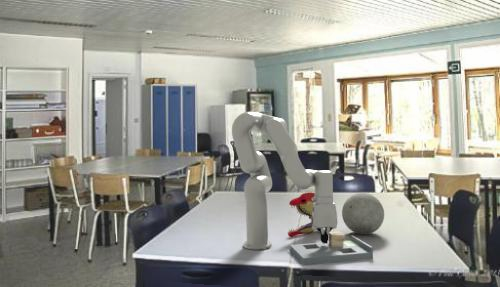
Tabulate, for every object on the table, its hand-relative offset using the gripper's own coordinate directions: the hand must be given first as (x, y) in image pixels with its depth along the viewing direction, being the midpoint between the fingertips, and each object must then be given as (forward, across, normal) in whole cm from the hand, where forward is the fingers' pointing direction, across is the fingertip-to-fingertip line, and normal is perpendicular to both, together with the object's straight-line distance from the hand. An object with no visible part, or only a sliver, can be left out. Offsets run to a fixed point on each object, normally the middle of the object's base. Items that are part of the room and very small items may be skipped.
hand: (324, 242), depth 177 cm
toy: (+4, +3, +30) cm, 30 cm away
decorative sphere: (+4, +28, +21) cm, 35 cm away
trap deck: (+4, 0, -4) cm, 6 cm away
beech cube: (+1, +5, 0) cm, 5 cm away
